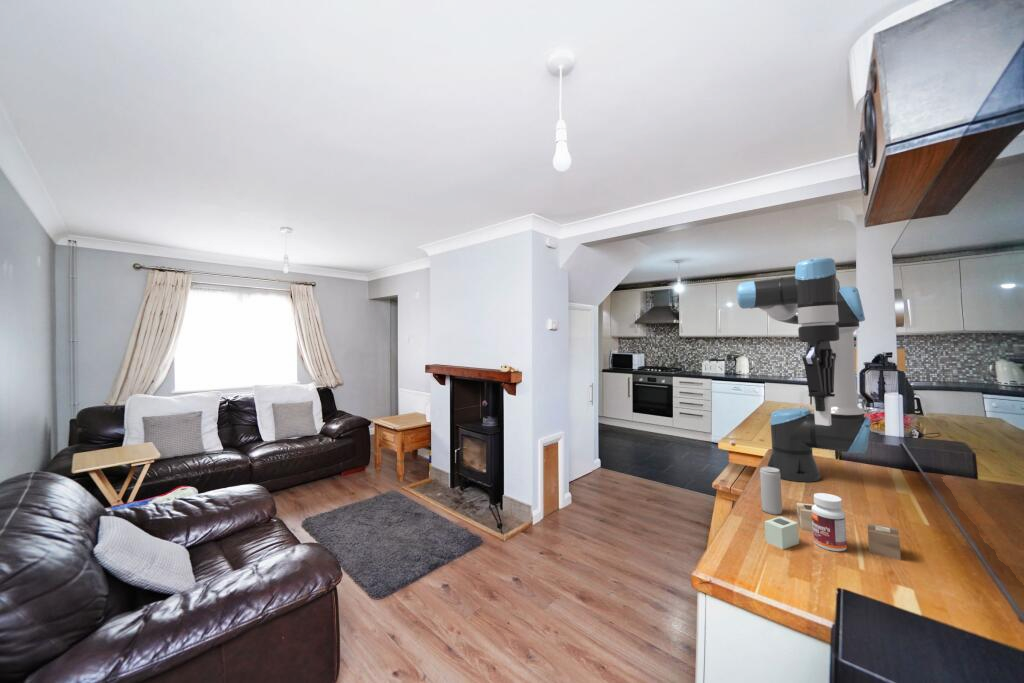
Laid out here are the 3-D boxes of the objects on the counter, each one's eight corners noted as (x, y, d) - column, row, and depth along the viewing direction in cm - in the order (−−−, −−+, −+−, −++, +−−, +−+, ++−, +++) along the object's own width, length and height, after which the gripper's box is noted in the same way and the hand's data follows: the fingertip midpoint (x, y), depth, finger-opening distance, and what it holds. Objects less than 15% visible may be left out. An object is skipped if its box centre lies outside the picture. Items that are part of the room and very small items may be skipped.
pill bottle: (806, 541, 92) (804, 494, 92) (824, 536, 94) (822, 490, 94) (835, 554, 86) (832, 504, 86) (853, 549, 88) (851, 499, 88)
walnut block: (868, 543, 90) (867, 521, 90) (898, 550, 86) (897, 527, 86) (869, 553, 86) (867, 529, 86) (900, 560, 83) (899, 536, 83)
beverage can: (785, 515, 105) (783, 472, 105) (766, 515, 106) (764, 471, 106) (777, 508, 110) (775, 466, 110) (758, 507, 111) (756, 466, 111)
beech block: (797, 521, 102) (796, 502, 102) (821, 524, 100) (820, 504, 100) (801, 530, 97) (800, 509, 98) (826, 533, 95) (825, 512, 95)
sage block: (781, 536, 95) (780, 515, 95) (799, 543, 91) (798, 521, 91) (765, 542, 93) (764, 520, 93) (782, 549, 89) (781, 527, 89)
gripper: (810, 325, 97) (815, 418, 97) (787, 326, 90) (792, 426, 90) (848, 323, 91) (853, 422, 91) (826, 323, 84) (832, 431, 84)
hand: (823, 424), depth 90 cm, fingers closed
